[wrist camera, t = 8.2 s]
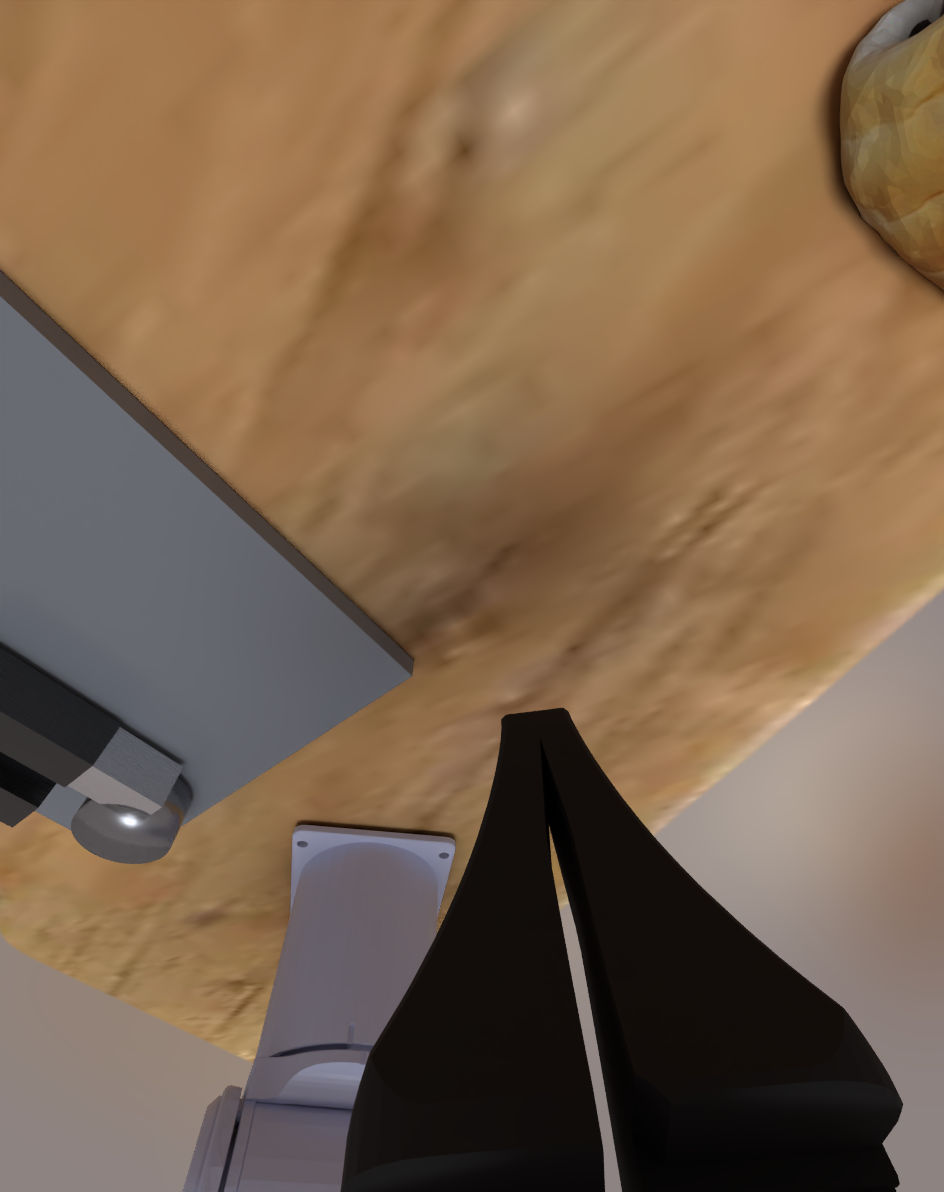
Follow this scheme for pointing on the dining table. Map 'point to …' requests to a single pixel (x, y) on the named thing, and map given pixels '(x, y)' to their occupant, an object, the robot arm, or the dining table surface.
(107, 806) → the tongs moving arm
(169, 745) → the slate board
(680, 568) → the dining table surface
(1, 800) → the arm
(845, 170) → the pastry
